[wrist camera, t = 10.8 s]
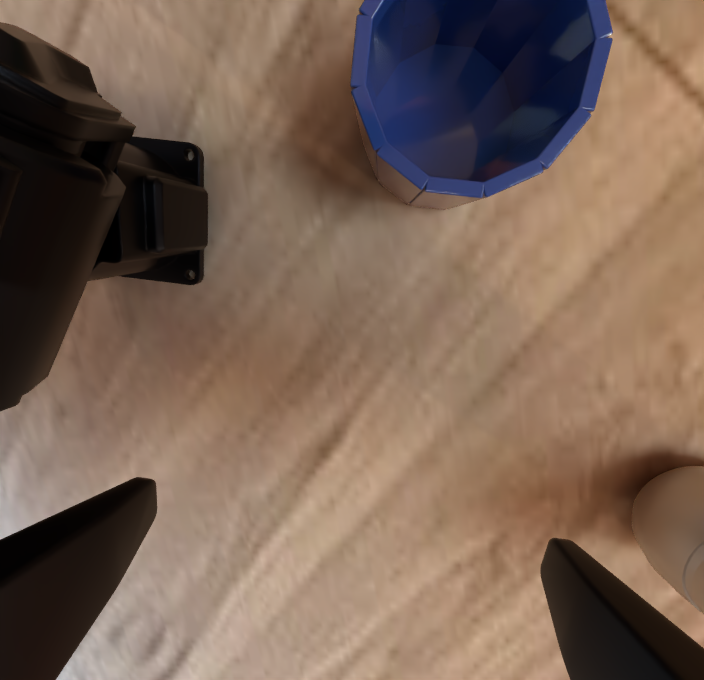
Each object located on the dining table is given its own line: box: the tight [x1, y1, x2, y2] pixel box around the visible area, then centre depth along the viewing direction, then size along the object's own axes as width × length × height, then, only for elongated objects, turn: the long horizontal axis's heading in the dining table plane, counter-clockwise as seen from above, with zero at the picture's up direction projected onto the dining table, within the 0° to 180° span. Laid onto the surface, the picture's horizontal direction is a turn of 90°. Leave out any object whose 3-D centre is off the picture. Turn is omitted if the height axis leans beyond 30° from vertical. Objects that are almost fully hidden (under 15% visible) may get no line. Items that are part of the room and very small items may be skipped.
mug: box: [350, 0, 613, 210], centre depth 13 cm, size 7×9×7 cm
